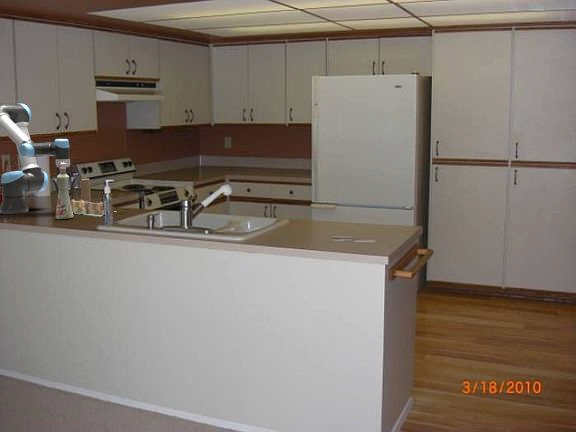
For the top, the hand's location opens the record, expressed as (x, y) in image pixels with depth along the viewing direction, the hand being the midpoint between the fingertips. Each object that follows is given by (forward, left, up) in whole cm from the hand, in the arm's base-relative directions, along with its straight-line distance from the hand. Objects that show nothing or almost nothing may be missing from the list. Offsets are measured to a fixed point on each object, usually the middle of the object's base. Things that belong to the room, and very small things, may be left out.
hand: (65, 208), depth 393 cm
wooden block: (+18, +7, -3) cm, 19 cm away
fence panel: (+5, -6, -2) cm, 8 cm away
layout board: (+11, -13, -3) cm, 17 cm away
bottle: (-12, -15, -3) cm, 20 cm away
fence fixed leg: (+5, -19, -3) cm, 20 cm away
